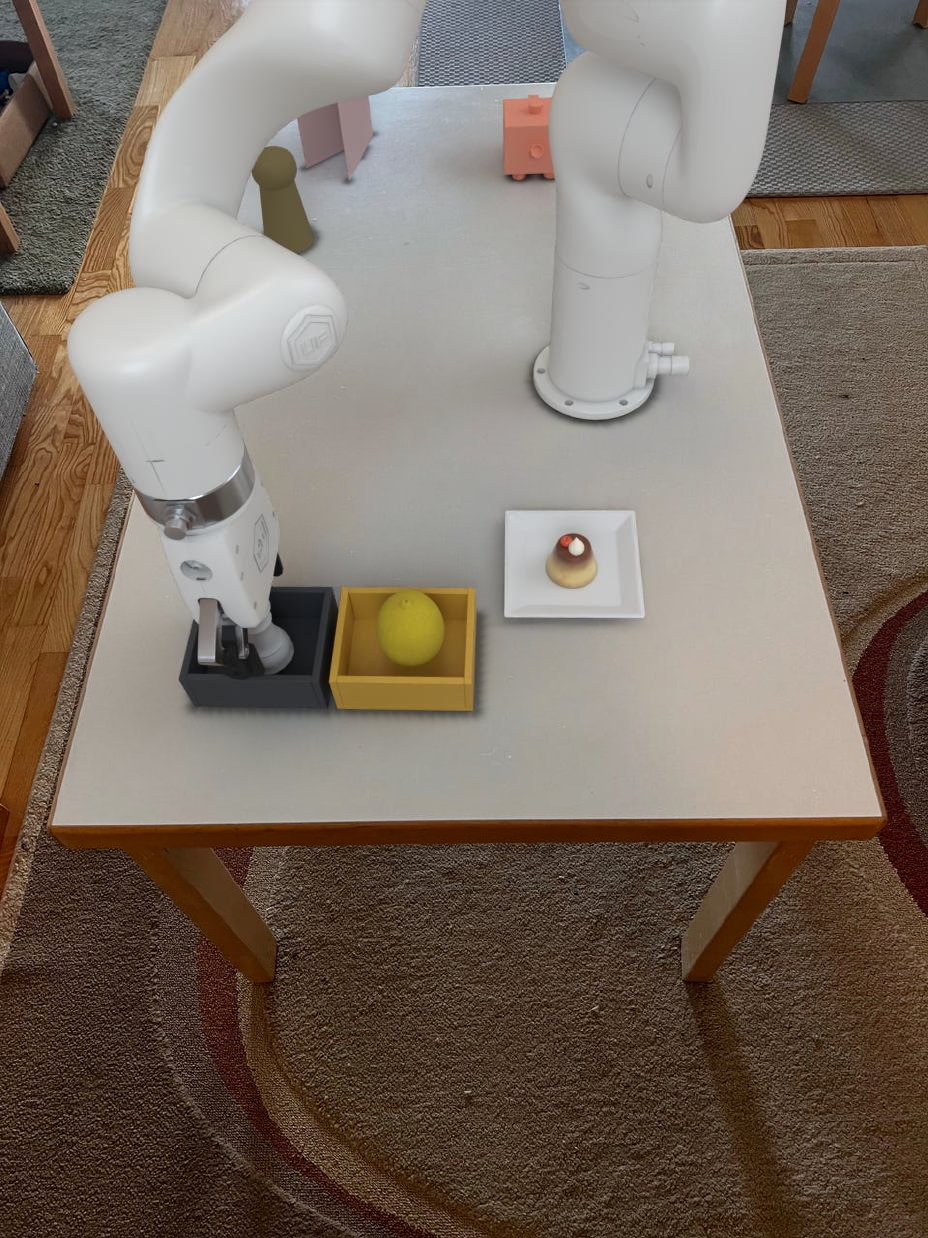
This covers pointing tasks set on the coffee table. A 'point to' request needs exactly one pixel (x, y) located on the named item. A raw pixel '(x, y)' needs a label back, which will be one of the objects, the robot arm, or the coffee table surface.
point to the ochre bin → (389, 686)
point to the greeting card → (337, 132)
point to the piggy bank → (526, 137)
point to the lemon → (410, 628)
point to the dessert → (572, 564)
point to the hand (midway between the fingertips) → (255, 621)
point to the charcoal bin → (296, 685)
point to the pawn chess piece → (281, 200)
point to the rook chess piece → (271, 644)
